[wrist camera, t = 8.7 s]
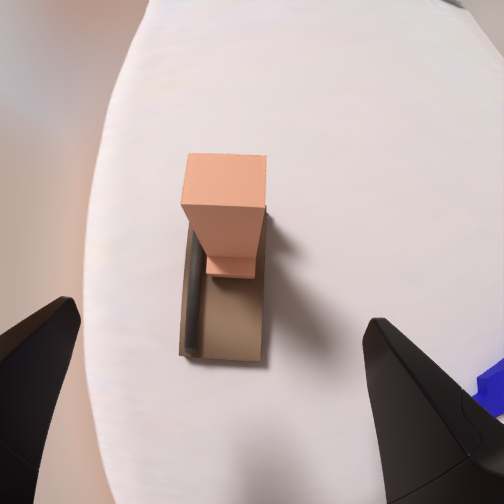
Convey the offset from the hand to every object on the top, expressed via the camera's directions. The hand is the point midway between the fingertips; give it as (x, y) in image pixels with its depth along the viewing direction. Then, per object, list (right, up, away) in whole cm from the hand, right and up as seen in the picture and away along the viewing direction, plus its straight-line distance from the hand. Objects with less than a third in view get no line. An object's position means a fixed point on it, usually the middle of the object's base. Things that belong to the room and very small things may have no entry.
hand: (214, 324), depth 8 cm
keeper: (0, +2, +11) cm, 11 cm away
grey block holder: (-1, 0, +11) cm, 11 cm away
